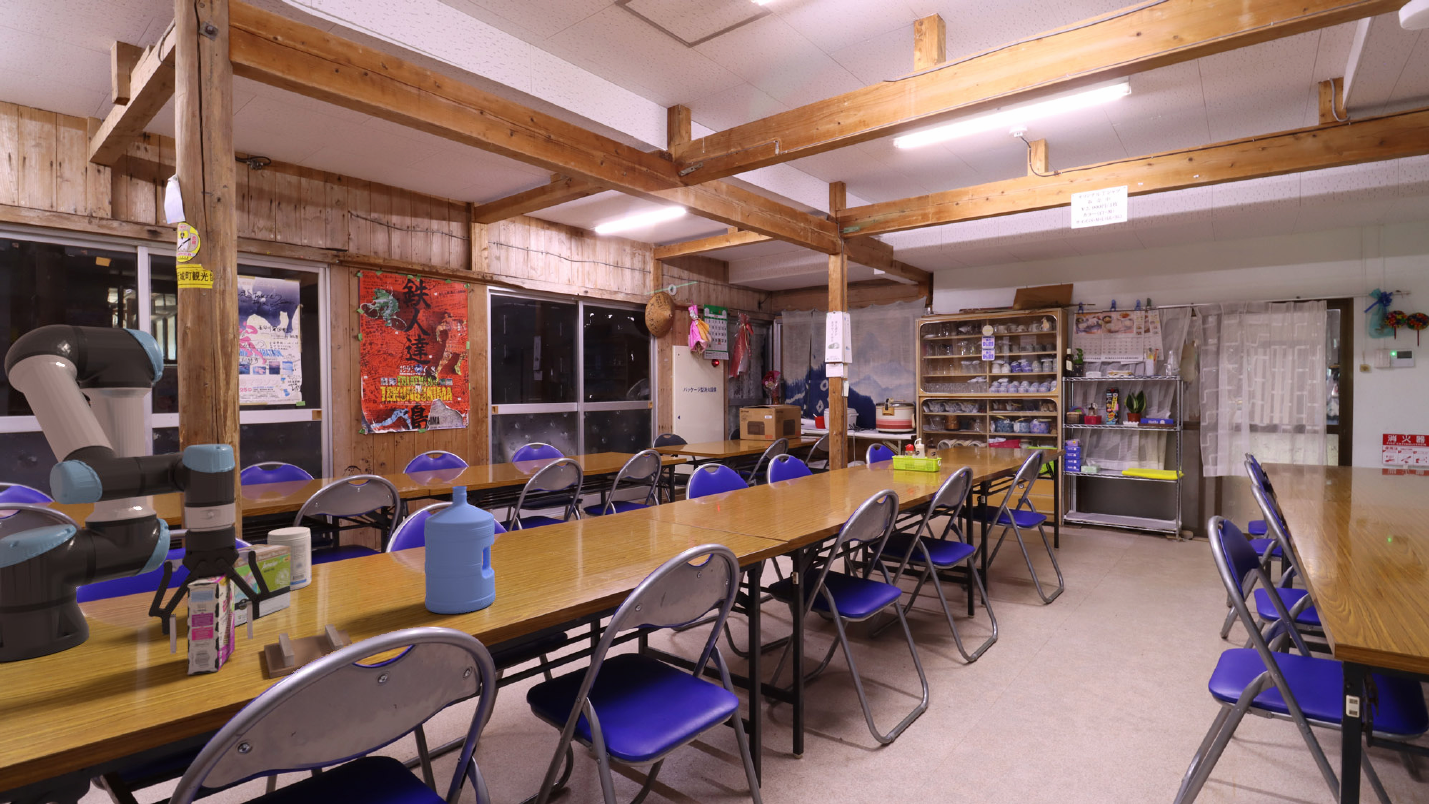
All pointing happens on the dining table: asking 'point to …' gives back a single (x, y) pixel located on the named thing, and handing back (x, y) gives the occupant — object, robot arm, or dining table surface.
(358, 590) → the dining table surface
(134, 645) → the dining table surface
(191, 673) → the candy bar box
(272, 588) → the tea box
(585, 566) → the dining table surface
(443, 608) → the water jug
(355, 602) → the dining table surface
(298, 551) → the supplement tub
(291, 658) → the brown flat ridged block
